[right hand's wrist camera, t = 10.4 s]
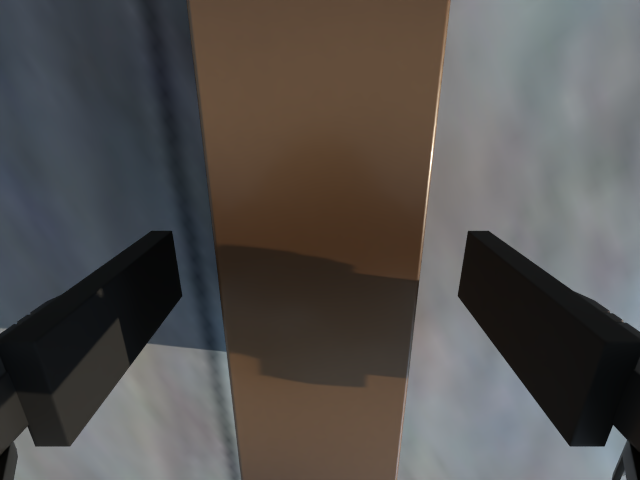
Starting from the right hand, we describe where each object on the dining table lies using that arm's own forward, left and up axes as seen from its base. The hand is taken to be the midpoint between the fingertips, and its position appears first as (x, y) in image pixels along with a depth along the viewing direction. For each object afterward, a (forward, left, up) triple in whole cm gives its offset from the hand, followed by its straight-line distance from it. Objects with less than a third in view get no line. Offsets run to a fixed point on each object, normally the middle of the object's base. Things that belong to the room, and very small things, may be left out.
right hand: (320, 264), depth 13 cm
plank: (+10, +17, -3) cm, 20 cm away
